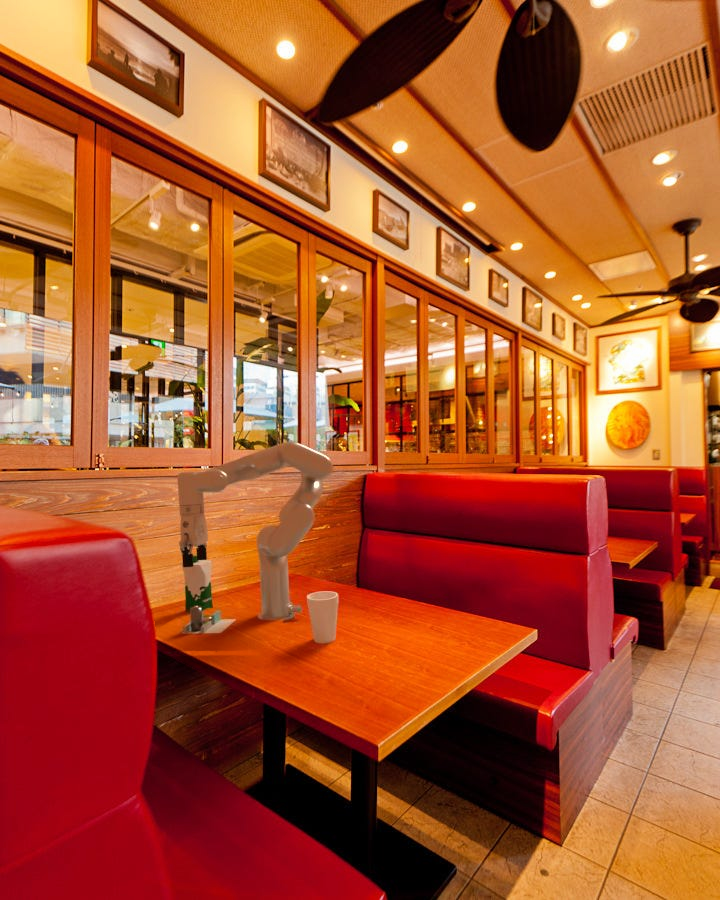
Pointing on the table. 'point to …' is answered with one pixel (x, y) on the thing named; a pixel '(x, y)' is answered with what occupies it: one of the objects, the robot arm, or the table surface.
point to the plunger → (206, 618)
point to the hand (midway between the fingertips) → (195, 563)
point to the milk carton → (198, 584)
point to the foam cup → (323, 615)
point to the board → (211, 624)
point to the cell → (196, 618)
